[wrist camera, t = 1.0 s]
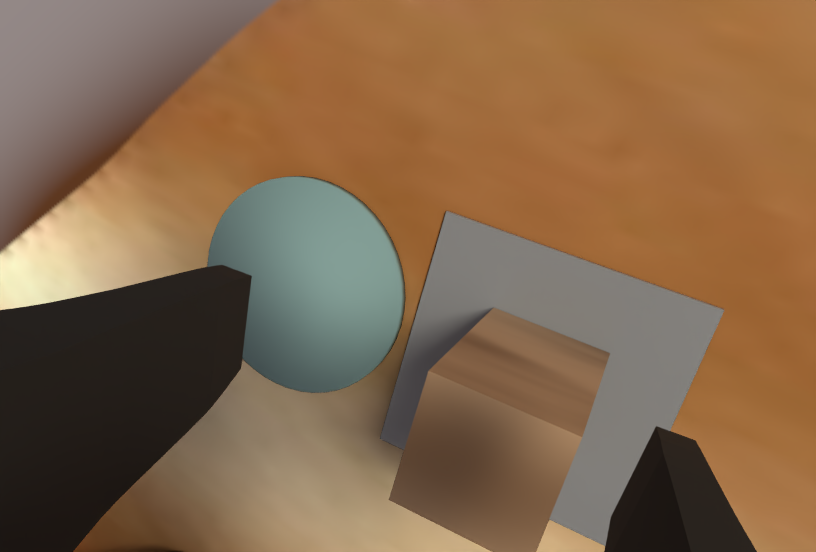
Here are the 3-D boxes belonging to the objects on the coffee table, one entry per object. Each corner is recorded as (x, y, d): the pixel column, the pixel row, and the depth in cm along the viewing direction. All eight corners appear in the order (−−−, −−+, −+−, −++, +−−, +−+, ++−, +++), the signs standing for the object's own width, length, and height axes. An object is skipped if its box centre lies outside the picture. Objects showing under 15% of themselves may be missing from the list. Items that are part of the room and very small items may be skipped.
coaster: (373, 422, 28) (368, 426, 28) (199, 340, 31) (192, 343, 31) (432, 219, 26) (427, 220, 25) (235, 147, 28) (227, 148, 28)
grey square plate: (616, 548, 26) (615, 552, 25) (381, 437, 28) (379, 439, 28) (723, 309, 22) (724, 310, 22) (447, 210, 25) (445, 211, 25)
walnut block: (568, 457, 25) (528, 569, 19) (460, 409, 27) (389, 499, 20) (610, 353, 24) (582, 437, 18) (493, 307, 25) (428, 370, 19)
